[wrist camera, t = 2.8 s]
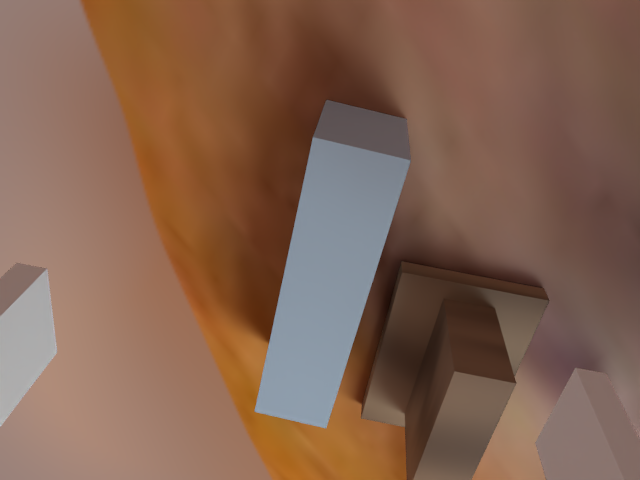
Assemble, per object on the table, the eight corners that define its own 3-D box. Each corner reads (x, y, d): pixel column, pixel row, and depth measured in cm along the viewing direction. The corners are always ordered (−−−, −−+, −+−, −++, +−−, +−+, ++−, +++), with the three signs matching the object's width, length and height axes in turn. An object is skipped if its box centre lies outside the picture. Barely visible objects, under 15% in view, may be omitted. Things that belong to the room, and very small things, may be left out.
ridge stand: (401, 261, 27) (404, 341, 21) (544, 288, 26) (582, 376, 21) (361, 405, 32) (356, 498, 26) (481, 428, 31) (499, 526, 26)
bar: (273, 343, 30) (254, 411, 26) (326, 98, 23) (312, 137, 19) (334, 357, 30) (326, 428, 26) (406, 117, 23) (410, 160, 19)
